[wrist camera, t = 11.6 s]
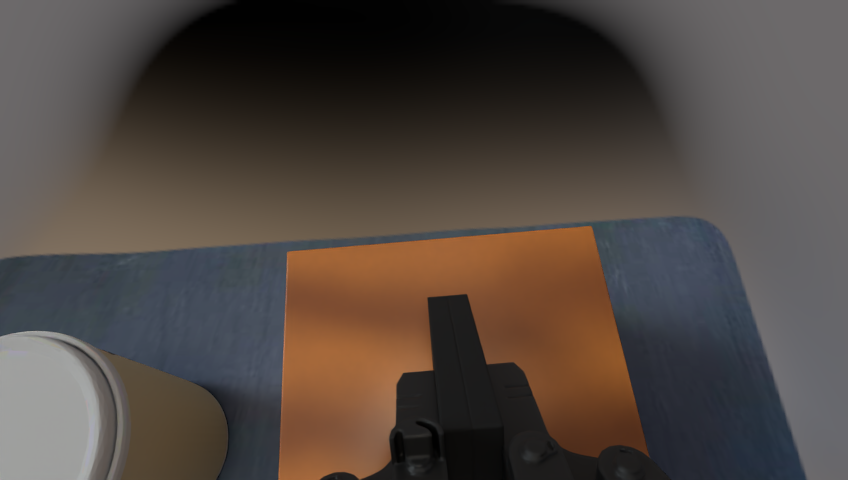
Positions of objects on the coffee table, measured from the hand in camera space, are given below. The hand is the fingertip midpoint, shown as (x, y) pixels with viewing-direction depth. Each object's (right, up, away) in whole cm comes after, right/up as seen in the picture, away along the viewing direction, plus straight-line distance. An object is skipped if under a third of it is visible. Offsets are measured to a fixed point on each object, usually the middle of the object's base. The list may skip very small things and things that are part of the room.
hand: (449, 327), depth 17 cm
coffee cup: (-16, -9, +10) cm, 21 cm away
